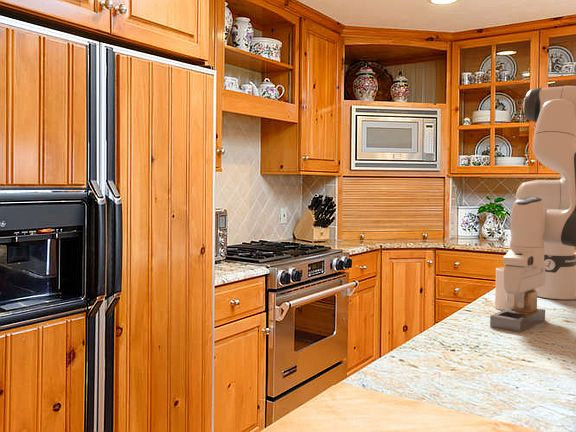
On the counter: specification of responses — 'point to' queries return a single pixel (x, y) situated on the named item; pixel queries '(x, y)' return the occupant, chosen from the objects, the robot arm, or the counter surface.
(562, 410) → the counter surface
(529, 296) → the wooden toy block
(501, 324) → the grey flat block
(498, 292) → the mug
